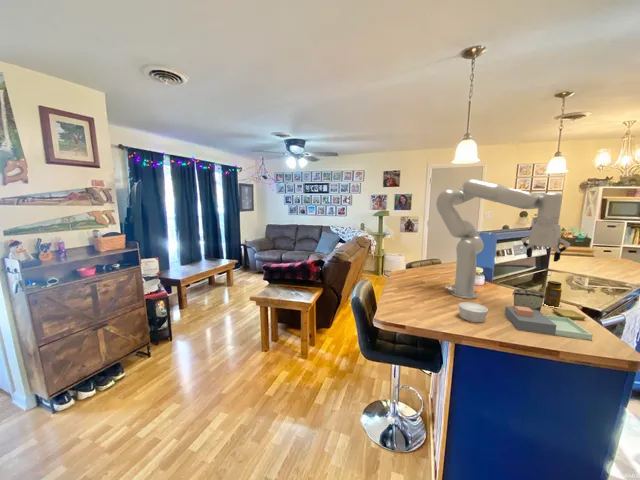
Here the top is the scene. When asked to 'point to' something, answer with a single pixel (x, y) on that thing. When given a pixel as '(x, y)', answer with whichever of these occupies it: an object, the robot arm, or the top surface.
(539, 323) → the ledge
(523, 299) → the food container
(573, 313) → the olive flat square tray
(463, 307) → the ramekin
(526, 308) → the tile
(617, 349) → the top surface
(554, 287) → the condiment
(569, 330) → the box
